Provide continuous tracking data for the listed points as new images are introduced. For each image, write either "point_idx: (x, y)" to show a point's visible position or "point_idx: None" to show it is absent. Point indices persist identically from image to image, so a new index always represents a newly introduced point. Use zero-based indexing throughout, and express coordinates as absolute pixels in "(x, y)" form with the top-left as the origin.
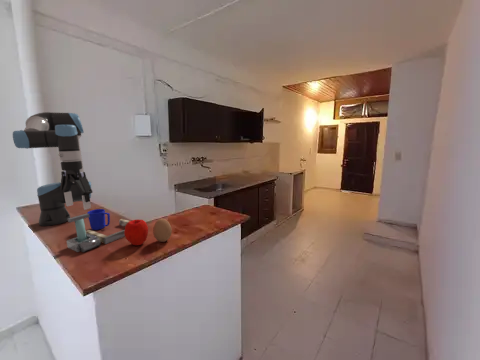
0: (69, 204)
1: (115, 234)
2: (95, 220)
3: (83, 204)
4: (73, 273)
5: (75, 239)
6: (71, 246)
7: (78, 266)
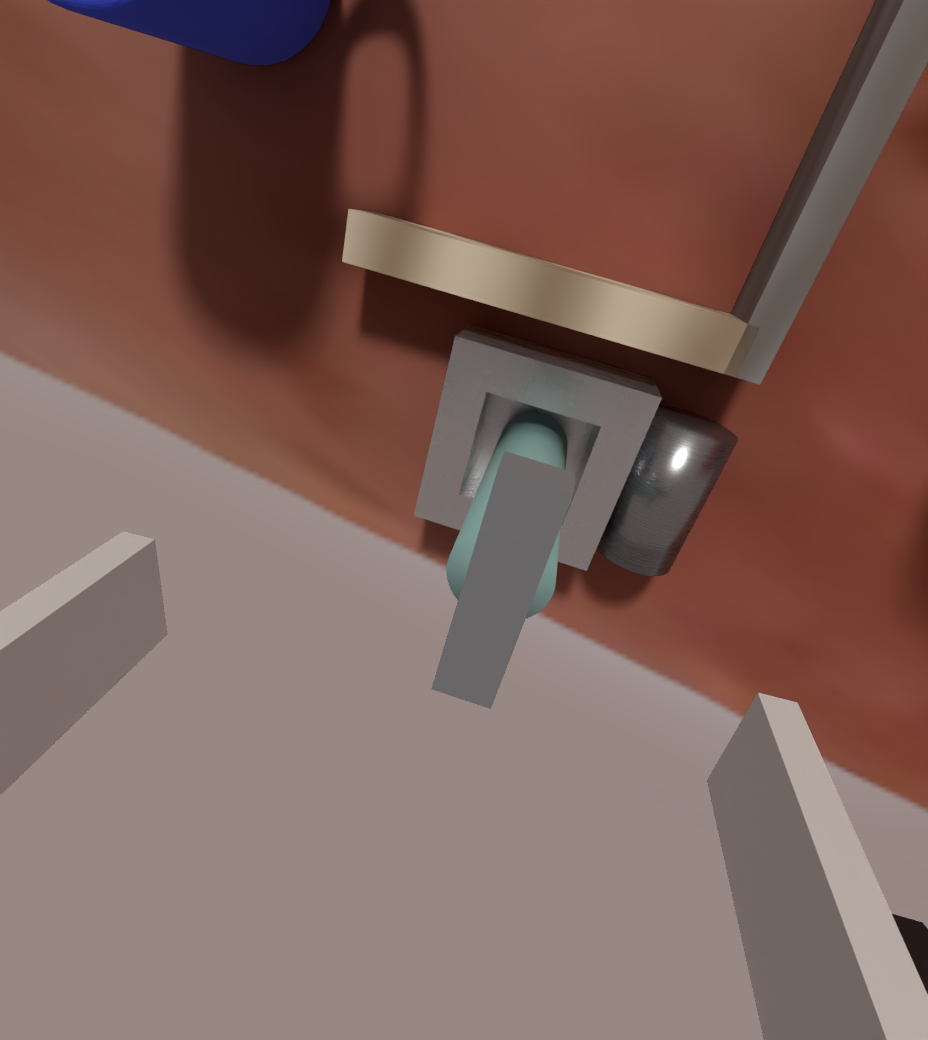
0: (145, 615)
1: (827, 250)
2: (251, 8)
3: (745, 896)
4: None
5: (464, 476)
6: None
7: (773, 687)
